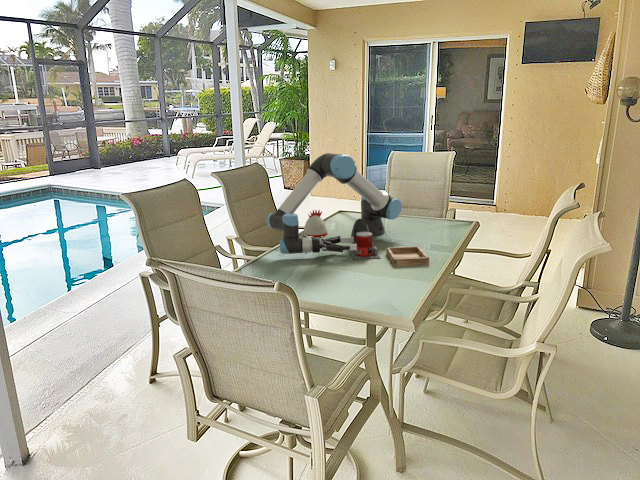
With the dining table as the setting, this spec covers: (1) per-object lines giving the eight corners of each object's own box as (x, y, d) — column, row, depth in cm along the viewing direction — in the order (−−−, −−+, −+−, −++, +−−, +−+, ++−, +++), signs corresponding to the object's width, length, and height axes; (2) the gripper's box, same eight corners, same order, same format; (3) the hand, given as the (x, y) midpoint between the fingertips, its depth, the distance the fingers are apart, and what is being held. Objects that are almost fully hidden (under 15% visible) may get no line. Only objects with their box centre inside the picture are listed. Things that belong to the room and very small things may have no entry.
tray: (386, 254, 242) (386, 247, 241) (418, 252, 242) (418, 246, 241) (394, 266, 222) (394, 259, 221) (429, 264, 223) (429, 257, 222)
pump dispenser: (373, 245, 258) (373, 217, 254) (366, 250, 249) (366, 221, 245) (355, 243, 262) (354, 215, 258) (347, 248, 253) (347, 220, 249)
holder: (349, 251, 248) (349, 245, 247) (376, 250, 248) (376, 244, 247) (352, 259, 234) (351, 252, 233) (380, 258, 235) (380, 251, 234)
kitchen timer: (330, 236, 279) (329, 210, 275) (306, 238, 276) (305, 212, 272) (324, 231, 292) (323, 206, 288) (301, 233, 289) (300, 208, 285)
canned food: (371, 257, 237) (371, 235, 234) (355, 257, 238) (354, 235, 236) (373, 253, 244) (373, 231, 241) (357, 252, 246) (357, 231, 243)
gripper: (311, 245, 251) (352, 244, 252) (312, 260, 227) (358, 258, 228) (310, 231, 250) (352, 229, 250) (311, 244, 225) (357, 242, 226)
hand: (355, 243), depth 239 cm, fingers open, 13 cm apart
